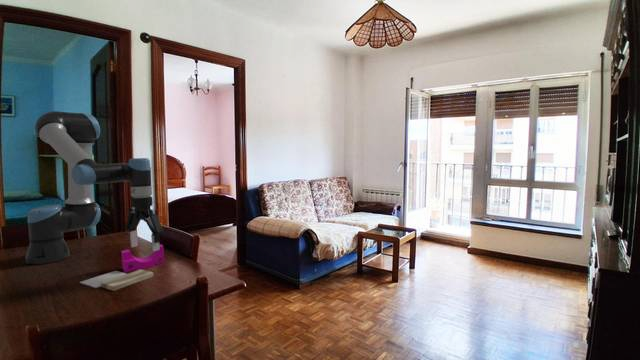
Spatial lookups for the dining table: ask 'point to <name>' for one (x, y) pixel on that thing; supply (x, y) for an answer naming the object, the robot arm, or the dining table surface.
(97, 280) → the mat
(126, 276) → the board
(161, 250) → the toy block
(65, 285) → the dining table surface
